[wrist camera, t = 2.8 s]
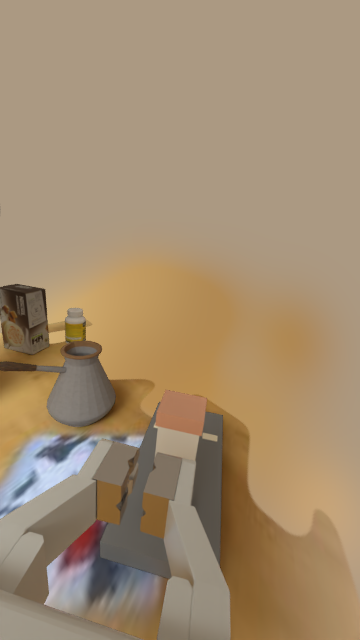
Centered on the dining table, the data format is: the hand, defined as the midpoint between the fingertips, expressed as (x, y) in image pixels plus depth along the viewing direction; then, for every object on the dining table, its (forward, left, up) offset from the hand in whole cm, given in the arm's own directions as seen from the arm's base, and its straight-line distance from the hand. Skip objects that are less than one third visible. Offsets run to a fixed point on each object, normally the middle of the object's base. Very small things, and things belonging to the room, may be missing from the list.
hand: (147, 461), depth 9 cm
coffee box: (-46, +45, -24) cm, 69 cm away
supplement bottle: (-37, +53, -24) cm, 69 cm away
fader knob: (0, +13, -21) cm, 25 cm away
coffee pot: (-22, +23, -24) cm, 40 cm away
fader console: (0, +20, -24) cm, 31 cm away
